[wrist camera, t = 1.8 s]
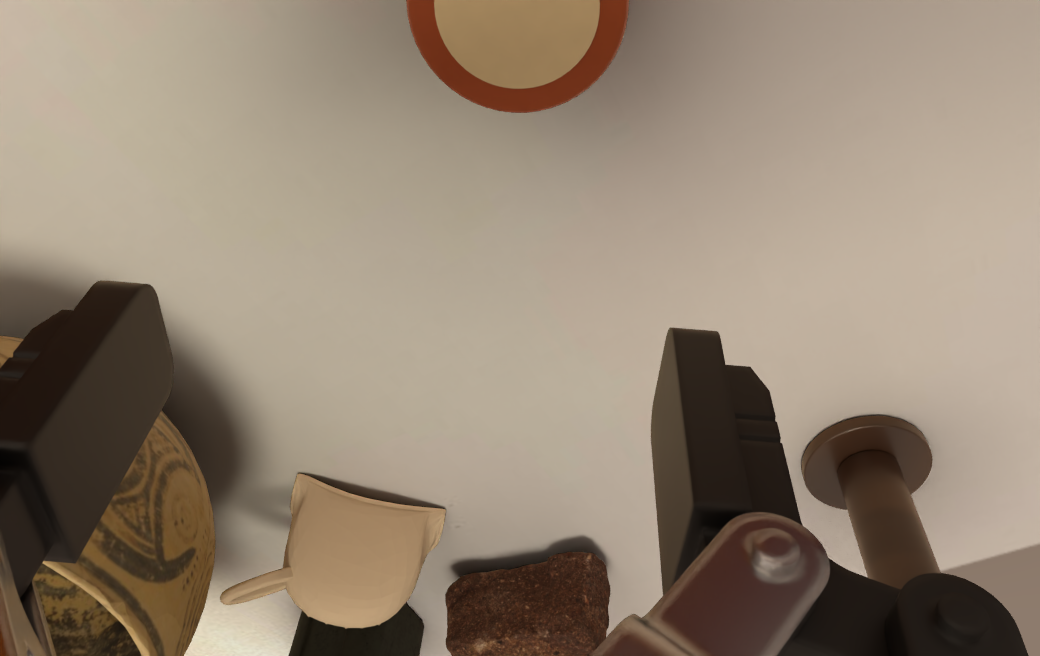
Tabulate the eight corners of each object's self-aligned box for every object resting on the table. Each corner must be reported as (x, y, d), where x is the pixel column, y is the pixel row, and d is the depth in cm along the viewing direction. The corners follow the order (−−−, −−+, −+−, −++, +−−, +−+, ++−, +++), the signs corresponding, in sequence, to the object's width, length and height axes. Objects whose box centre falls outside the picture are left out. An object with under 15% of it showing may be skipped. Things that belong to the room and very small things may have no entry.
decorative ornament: (426, 561, 42) (409, 664, 38) (252, 518, 41) (214, 619, 36) (449, 509, 39) (434, 612, 35) (265, 461, 38) (226, 562, 34)
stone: (467, 600, 44) (455, 695, 40) (439, 564, 42) (424, 660, 38) (613, 567, 41) (616, 665, 37) (589, 528, 40) (590, 626, 36)
